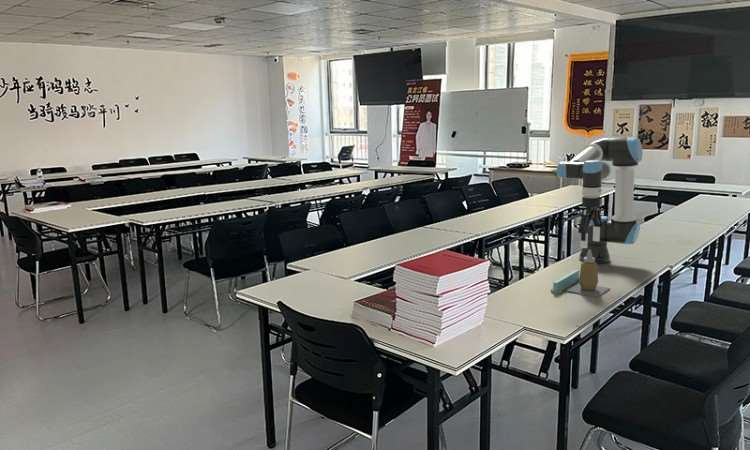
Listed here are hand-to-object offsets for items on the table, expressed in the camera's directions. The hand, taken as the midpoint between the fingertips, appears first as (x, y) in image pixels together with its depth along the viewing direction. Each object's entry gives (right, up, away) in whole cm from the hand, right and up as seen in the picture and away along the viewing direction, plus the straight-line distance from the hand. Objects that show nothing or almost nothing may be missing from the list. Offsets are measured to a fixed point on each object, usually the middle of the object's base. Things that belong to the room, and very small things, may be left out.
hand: (590, 244), depth 243 cm
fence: (-7, -20, +11) cm, 23 cm away
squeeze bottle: (+1, -20, +4) cm, 21 cm away
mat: (+1, -21, +4) cm, 21 cm away
